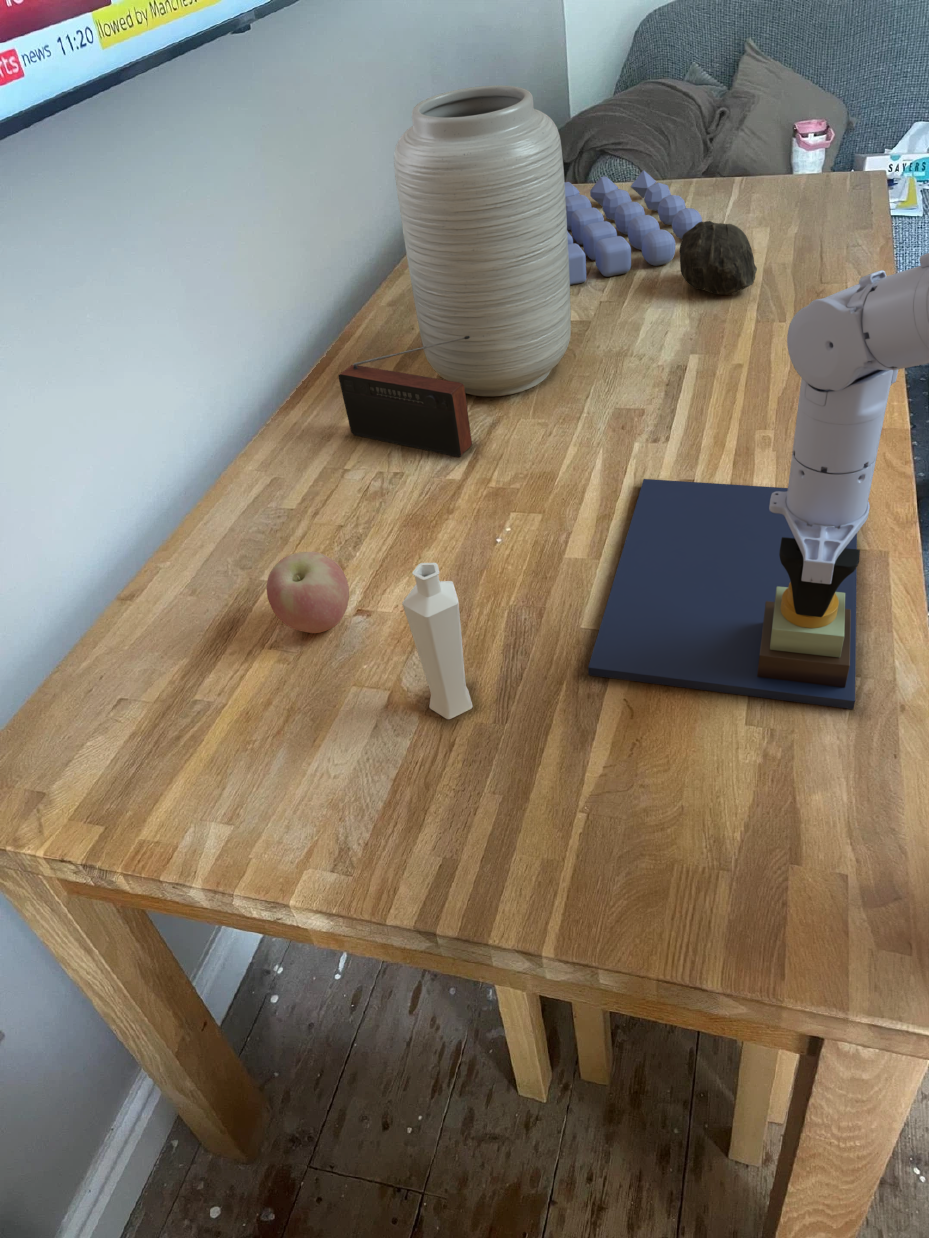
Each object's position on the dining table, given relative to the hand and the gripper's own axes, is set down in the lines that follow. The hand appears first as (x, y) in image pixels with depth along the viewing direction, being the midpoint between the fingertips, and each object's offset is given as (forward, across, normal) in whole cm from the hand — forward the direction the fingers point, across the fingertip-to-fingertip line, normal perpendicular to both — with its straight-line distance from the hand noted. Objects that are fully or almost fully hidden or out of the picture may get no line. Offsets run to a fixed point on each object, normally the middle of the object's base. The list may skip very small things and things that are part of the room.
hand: (811, 595), depth 77 cm
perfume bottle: (+8, +11, -28) cm, 31 cm away
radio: (+8, -30, -48) cm, 57 cm away
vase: (+8, -49, -43) cm, 66 cm away
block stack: (+7, 0, 0) cm, 7 cm away
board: (+8, -10, -7) cm, 14 cm away
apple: (+8, +4, -45) cm, 46 cm away
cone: (+2, 0, 0) cm, 2 cm away
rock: (+8, -78, -18) cm, 80 cm away
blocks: (+8, -96, -42) cm, 105 cm away
